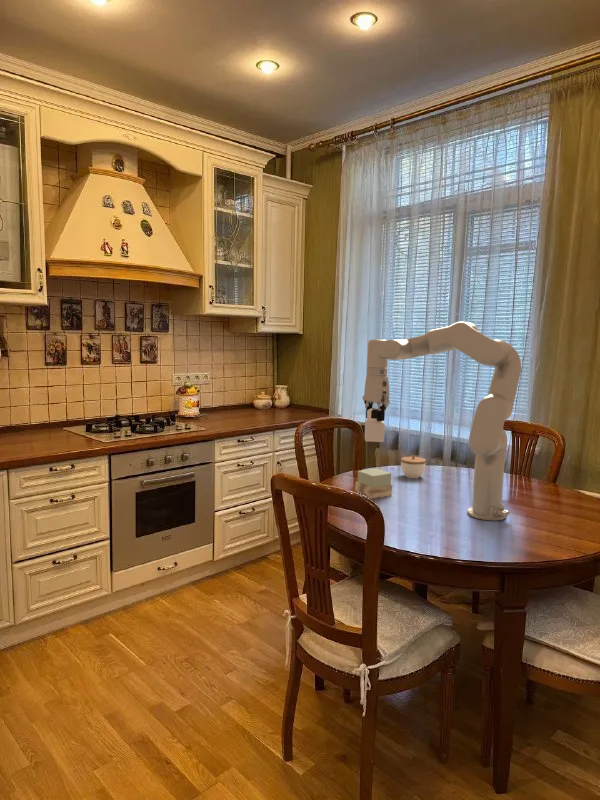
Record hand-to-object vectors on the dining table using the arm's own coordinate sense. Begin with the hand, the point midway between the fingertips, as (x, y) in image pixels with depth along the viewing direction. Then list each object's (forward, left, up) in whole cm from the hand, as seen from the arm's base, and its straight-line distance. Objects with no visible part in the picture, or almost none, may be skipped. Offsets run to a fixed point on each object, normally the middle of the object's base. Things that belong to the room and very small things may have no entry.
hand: (375, 419), depth 211 cm
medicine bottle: (0, 0, -8) cm, 8 cm away
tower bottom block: (0, 0, -30) cm, 29 cm away
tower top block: (0, 0, -25) cm, 25 cm away
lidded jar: (+14, -32, -29) cm, 46 cm away
